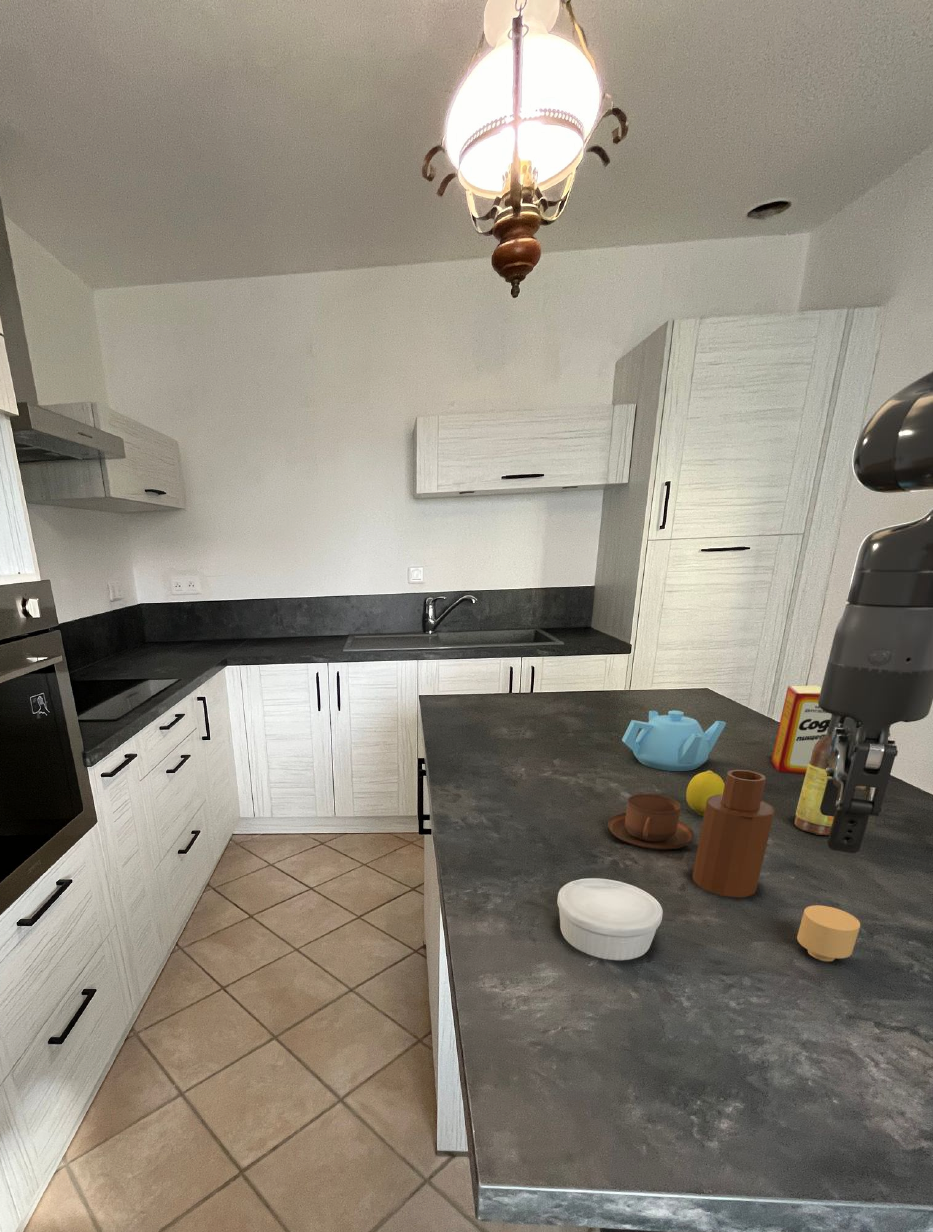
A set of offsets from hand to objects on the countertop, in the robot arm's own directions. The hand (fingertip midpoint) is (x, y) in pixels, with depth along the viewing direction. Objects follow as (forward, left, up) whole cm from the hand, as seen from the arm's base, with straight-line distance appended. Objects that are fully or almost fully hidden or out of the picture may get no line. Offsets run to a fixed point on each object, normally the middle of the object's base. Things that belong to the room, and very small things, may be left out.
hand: (837, 831), depth 58 cm
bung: (-3, -5, -18) cm, 19 cm away
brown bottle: (+4, -19, -18) cm, 26 cm away
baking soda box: (-19, -74, -18) cm, 79 cm away
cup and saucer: (+12, -32, -18) cm, 38 cm away
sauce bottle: (-13, -43, -18) cm, 49 cm away
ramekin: (+19, -2, -18) cm, 26 cm away
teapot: (+5, -72, -18) cm, 74 cm away
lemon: (+3, -44, -18) cm, 48 cm away
